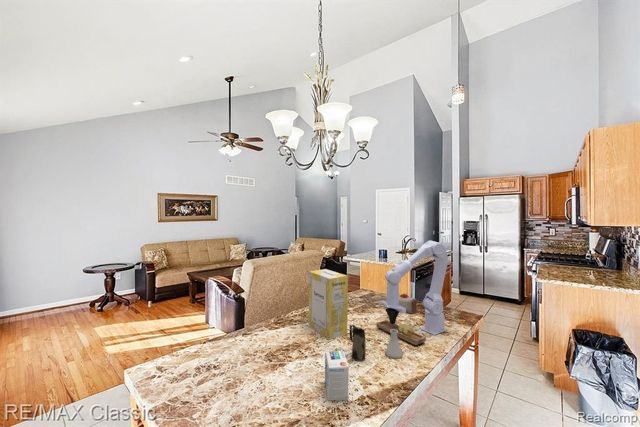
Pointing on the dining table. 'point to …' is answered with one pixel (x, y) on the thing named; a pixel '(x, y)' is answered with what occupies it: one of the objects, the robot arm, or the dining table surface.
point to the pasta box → (328, 302)
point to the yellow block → (406, 330)
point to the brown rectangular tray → (412, 339)
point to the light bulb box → (336, 375)
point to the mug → (358, 343)
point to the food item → (408, 303)
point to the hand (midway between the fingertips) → (392, 323)
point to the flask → (393, 346)
